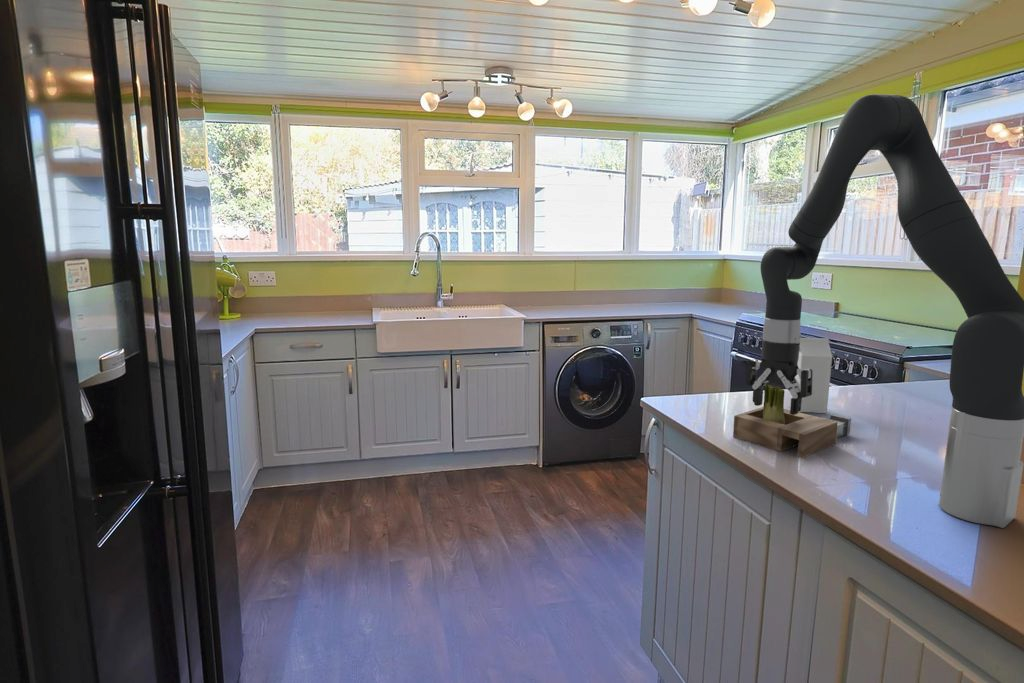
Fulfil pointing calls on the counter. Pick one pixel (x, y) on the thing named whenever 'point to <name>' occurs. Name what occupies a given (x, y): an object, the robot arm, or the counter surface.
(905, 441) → the counter surface
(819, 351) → the milk carton
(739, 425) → the dock
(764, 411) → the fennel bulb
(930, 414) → the counter surface
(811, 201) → the robot arm
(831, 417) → the lock pin
